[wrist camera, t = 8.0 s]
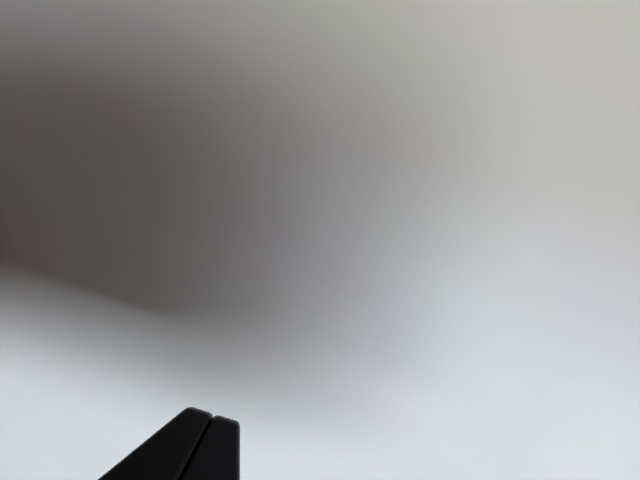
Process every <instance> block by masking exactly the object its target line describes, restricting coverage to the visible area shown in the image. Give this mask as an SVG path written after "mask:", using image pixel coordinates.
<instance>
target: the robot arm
mask: <svg viewBox="0 0 640 480" xmlns="http://www.w3.org/2000/svg"><path fill="white" fill-rule="evenodd" d="M98 480H240V425H239V423H238V422H237V421H235V420H232V419H229V418H225V417H222V416H215V417H213V415H212V414H211V413H210V412H206V411H203V410H200V409H197V408H194V407H189V408H186V409H185V410H183V411H182V412H181V413H179V414H178V415H177V416H176V417H174V418H173V419H172V420H171V421H170V422H168V423H167V424H166V425H165V426H163V427H162V428H161V429H160V430H158V431H157V432H156V433H155V434H154V435H152V436H151V437H150V438H149V439H147V440H146V441H145V442H144V443H142V444H141V445H140V446H139V447H138V448H136V449H135V450H134V451H133V452H131V453H130V454H129V455H128V456H126V457H125V458H124V459H123V460H122V461H120V462H119V463H118V464H117V465H115V466H114V467H113V468H112V469H110V470H109V471H108V472H107V473H106V474H104V475H103V476H102V477H101V478H99V479H98Z"/></svg>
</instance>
